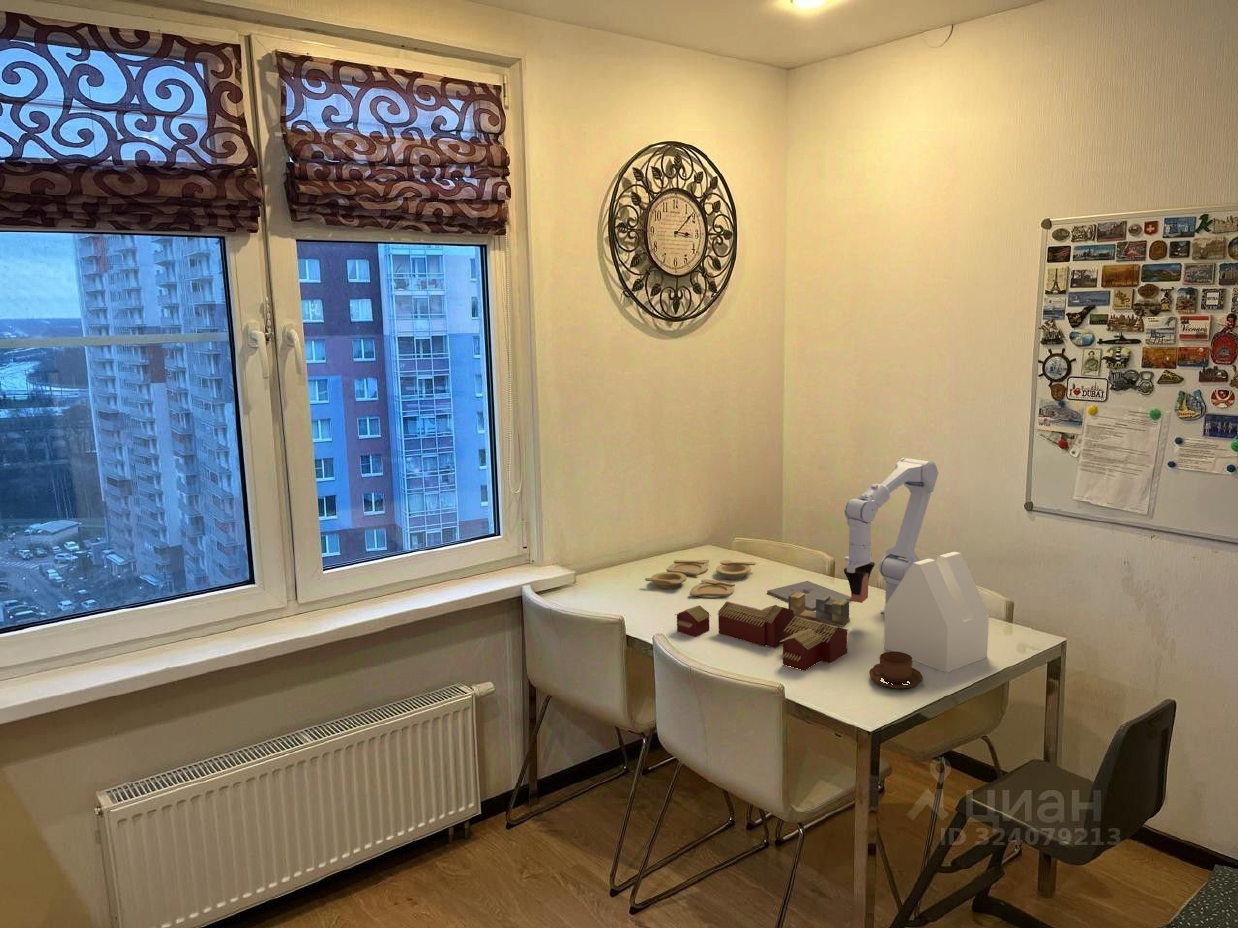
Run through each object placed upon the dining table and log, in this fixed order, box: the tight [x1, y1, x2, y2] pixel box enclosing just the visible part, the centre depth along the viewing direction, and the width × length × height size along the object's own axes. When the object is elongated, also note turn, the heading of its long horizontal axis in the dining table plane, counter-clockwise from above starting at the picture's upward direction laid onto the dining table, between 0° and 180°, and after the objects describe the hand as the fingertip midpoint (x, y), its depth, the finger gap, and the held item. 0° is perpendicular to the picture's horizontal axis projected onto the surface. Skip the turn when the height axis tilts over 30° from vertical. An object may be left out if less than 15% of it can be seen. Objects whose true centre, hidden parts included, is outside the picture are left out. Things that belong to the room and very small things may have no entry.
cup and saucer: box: [868, 650, 924, 689], centre depth 213 cm, size 12×12×6 cm
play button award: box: [766, 580, 852, 612], centre depth 274 cm, size 16×2×20 cm
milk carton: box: [883, 551, 990, 674], centre depth 227 cm, size 19×15×25 cm
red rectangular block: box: [850, 573, 869, 604], centre depth 247 cm, size 3×5×7 cm, turn 146°
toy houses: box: [674, 601, 849, 671], centre depth 240 cm, size 45×21×10 cm, turn 47°
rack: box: [787, 592, 851, 627], centre depth 255 cm, size 17×4×6 cm, turn 56°
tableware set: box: [644, 559, 757, 599], centre depth 293 cm, size 35×29×4 cm
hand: (859, 591), depth 247 cm, fingers closed on red rectangular block, 5 cm apart
